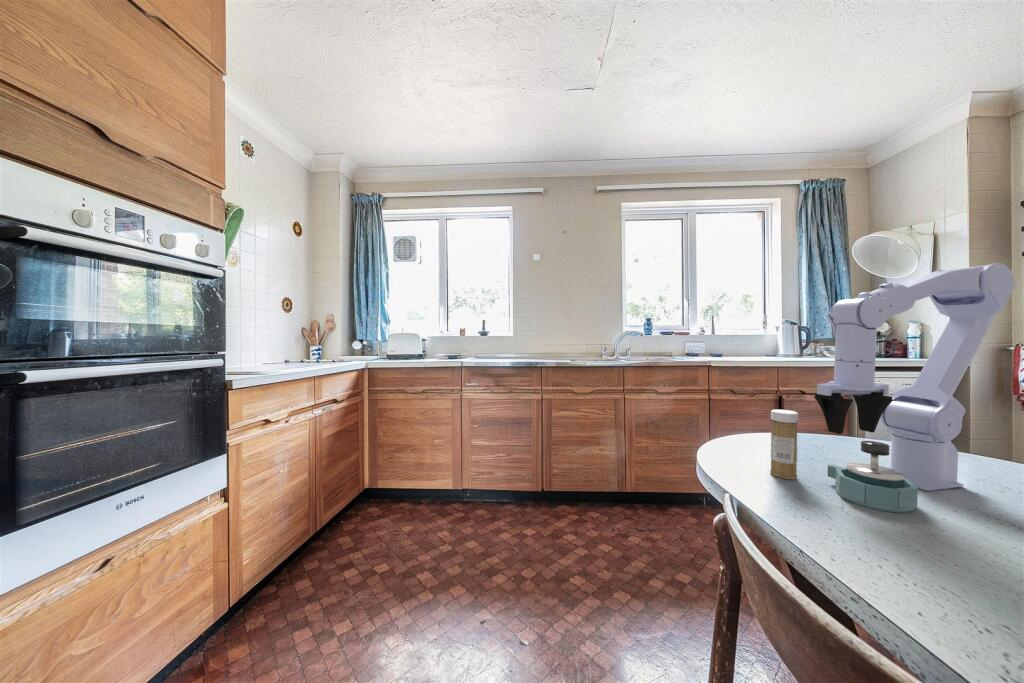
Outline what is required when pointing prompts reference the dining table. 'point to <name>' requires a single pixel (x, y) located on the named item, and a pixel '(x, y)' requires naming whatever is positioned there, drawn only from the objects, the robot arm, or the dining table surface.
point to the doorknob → (875, 464)
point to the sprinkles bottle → (784, 444)
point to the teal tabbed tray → (874, 491)
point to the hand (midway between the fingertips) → (851, 431)
